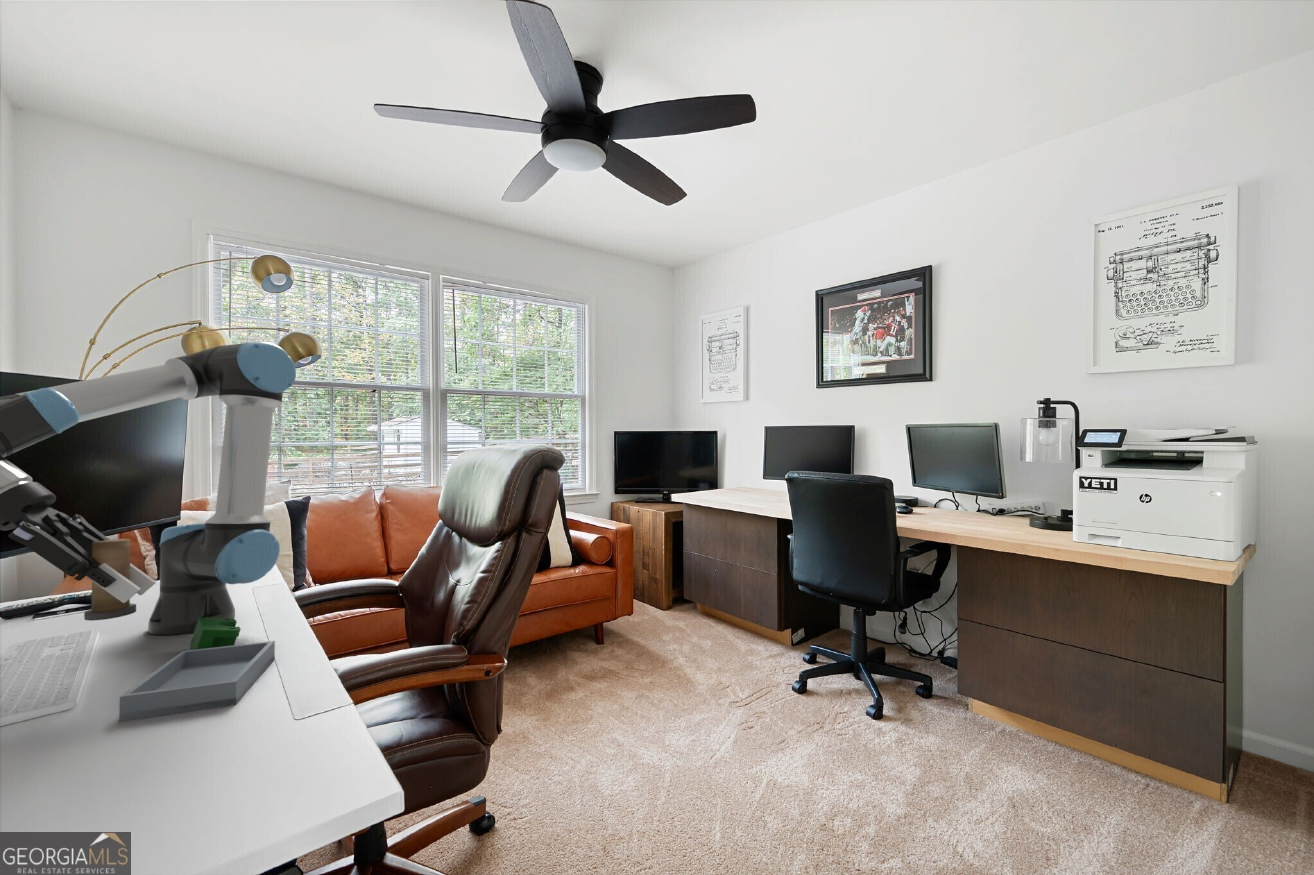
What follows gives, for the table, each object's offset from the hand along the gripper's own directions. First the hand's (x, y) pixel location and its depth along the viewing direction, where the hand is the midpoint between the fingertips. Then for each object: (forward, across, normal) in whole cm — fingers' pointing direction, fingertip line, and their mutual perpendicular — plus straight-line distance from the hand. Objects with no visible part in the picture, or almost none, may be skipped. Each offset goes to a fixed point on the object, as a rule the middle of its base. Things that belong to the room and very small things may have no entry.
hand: (140, 592), depth 91 cm
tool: (0, 0, -5) cm, 5 cm away
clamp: (+15, -18, -8) cm, 24 cm away
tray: (+18, +3, -4) cm, 19 cm away
